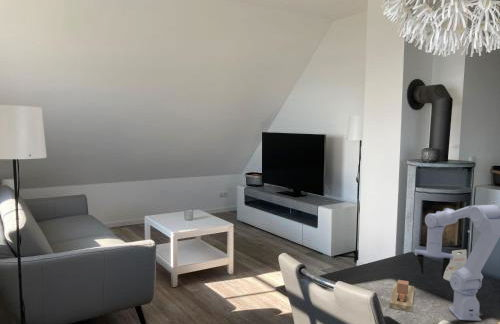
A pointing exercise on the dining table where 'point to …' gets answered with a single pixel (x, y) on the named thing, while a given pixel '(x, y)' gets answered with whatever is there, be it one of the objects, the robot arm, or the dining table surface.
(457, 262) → the ink cartridge box
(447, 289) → the dining table surface
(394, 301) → the rail
